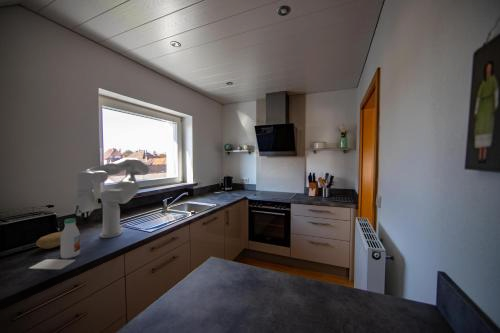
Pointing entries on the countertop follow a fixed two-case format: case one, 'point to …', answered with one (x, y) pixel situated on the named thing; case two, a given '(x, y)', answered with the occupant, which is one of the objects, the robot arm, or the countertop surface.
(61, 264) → the pad
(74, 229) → the milk bottle
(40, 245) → the potato
